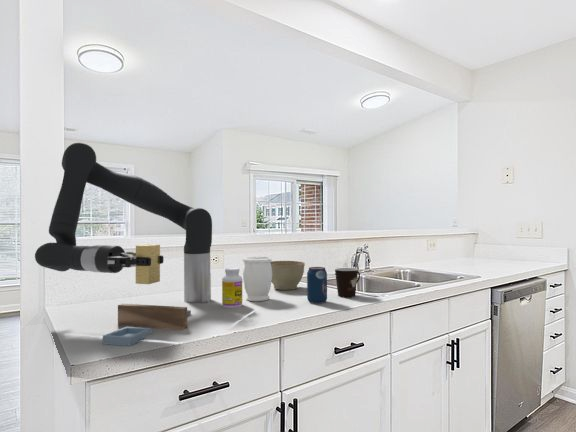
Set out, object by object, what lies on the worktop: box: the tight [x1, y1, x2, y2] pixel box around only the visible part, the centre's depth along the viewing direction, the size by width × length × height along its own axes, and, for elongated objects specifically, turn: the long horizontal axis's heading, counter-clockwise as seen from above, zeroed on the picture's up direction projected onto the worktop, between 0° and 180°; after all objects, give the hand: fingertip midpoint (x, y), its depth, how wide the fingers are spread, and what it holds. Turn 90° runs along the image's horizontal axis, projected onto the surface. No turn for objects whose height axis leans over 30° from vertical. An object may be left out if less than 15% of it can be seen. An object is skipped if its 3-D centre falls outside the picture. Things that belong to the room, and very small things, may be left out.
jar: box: [242, 256, 273, 302], centre depth 145 cm, size 11×10×15 cm
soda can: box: [306, 266, 328, 305], centre depth 139 cm, size 7×7×12 cm
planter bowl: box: [270, 260, 306, 291], centre depth 167 cm, size 16×16×11 cm
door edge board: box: [117, 303, 188, 331], centre depth 107 cm, size 2×20×6 cm, turn 75°
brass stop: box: [135, 244, 161, 285], centre depth 107 cm, size 5×4×10 cm
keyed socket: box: [102, 326, 153, 347], centre depth 98 cm, size 8×8×2 cm
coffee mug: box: [334, 267, 361, 299], centre depth 150 cm, size 12×9×10 cm
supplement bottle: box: [221, 267, 243, 309], centre depth 132 cm, size 7×7×13 cm
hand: (156, 260), depth 106 cm, fingers closed on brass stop, 5 cm apart
